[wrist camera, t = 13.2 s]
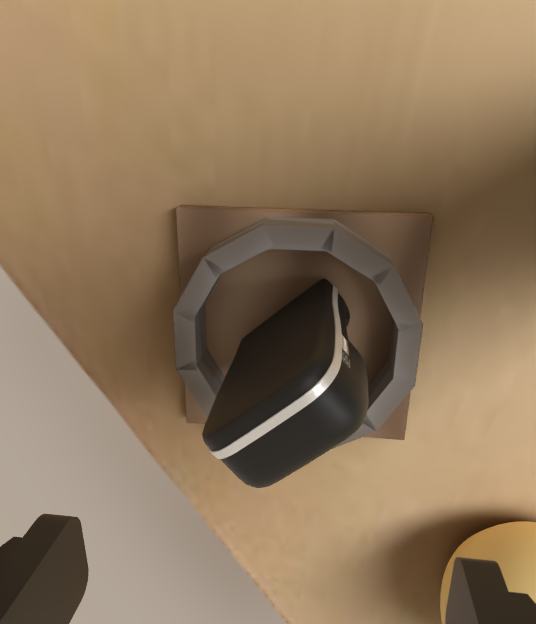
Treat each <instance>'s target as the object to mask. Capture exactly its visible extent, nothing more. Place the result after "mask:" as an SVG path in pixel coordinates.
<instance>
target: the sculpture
mask: <svg viewBox="0 0 536 624" xmlns="http://www.w3.org/2000/svg"><path fill="white" fill-rule="evenodd" d="M456 557H462V558H472V559H482V560H492V561H496V562H497V563H498V565H499V567H500V569H501V572H502V575H503V577H504V580H505V583H506V586H507V588H508V591H509V592H516V593H525V594H528V595H529V596H530V597H531V599H532V600H533V601H534V602H535V603H536V522H530V521H518V522H509V523H504V524H500V525H496V526H493V527H490V528H487V529H485V530H482V531H480V532H478V533H476V534H474V535H473V536H471V537H469V538H468V539H467V540H465V541H464V542H463V543H462V544H461V545H460V546H459V547H458V548H457V549H456V551H455V552H454V553H453V555H452V557H451V558H450V560H449V562H448V564H447V567H446V569H445V572H444V576H443V580H442V585H441V593H440V612H441V621H442V624H445V616H446V607H447V601H448V595H449V589H450V583H451V577H452V572H453V566H454V561H455V559H456Z"/></svg>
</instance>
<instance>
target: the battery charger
mask: <svg viewBox="0 0 536 624" xmlns="http://www.w3.org/2000/svg"><path fill="white" fill-rule="evenodd" d="M349 320H350V313H349V309H348V307H347V305H346V303H345V301H344V299H343V298H342V296H341V295H340V294H339V293H338V289H337V288H336V287H335V286H334V284H331V283H330V282H329V281H328V280H327V279H321V280H319V281H318V282H317V283H315V284H314V285H312V286H311V287H310V288H308V289H307V290H306V291H304V292H303V293H302V294H300V295H299V296H298V297H296V298H295V299H294V300H292V301H291V302H290V303H288V304H287V305H286V306H284V307H283V308H282V309H280V310H279V311H278V312H276V313H275V314H274V315H272V316H271V317H270V318H269V319H267V320H266V321H265V322H263V323H262V324H261V325H259V326H258V327H257V328H255V329H254V330H253V331H251V332H250V333H249V334H248V335H246V336H245V337H244V338H243V339H242V340H241V342H240V345H239V347H238V350H237V352H236V355H235V357H234V359H233V362H232V364H231V366H230V368H229V370H228V372H227V374H226V376H225V378H224V380H223V383H222V385H221V387H220V389H219V391H218V394H217V396H216V398H215V401H214V403H213V405H212V408H211V410H210V413H209V415H208V418H207V421H206V423H205V426H204V430H203V433H202V435H203V439H204V442H205V444H206V445H207V446H208V449H209V451H210V452H211V453H212V454H213V455H214V456H215V457H216V458H217V459H221V460H222V461H223V463H224V464H225V465H226V466H227V467H228V468H229V469H230V470H231V471H232V472H233V473H234V474H235V475H236V476H237V477H238V478H239V479H240V480H242V481H243V482H244V483H245V484H247V485H250V486H252V487H256V488H262V487H267V486H270V485H272V484H274V483H276V482H278V481H280V480H281V479H283V478H285V477H286V476H288V475H290V474H291V473H293V472H295V471H296V470H298V469H300V468H301V467H303V466H305V465H306V464H308V463H310V462H311V461H313V460H314V459H316V458H318V457H319V456H321V455H322V454H324V453H325V452H327V451H329V450H330V449H332V448H333V447H335V446H337V445H338V444H340V443H341V442H343V441H344V440H346V439H347V438H349V437H350V436H351V435H352V434H354V433H355V432H356V431H357V430H358V429H359V428H360V426H361V425H362V424H363V422H364V420H365V418H366V415H367V409H368V402H369V399H368V380H367V372H366V367H365V363H364V360H363V358H362V356H361V355H360V353H359V352H358V350H357V349H356V348H355V347H354V345H353V344H352V343H351V342H350V341H349V340H348V334H347V328H346V327H347V326H348V324H349Z"/></svg>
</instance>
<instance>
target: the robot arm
mask: <svg viewBox="0 0 536 624" xmlns="http://www.w3.org/2000/svg"><path fill="white" fill-rule="evenodd" d="M87 581H88V564H87V558H86V551H85V545H84V539H83V533H82V527H81V522H80V520H79V518H77V517H71V516H61V515H51V514H43V515H41V516H40V517H38V519H37V520H36V521H35V522H34V523H33V525H32V526H31V527H30V529H29V530H28V531H27V533H26V534H25V535H24V537H23V538H21V537H13V538H12V539H10V540H9V541H7V542H6V543H5V544H3V545H2V546H1V547H0V624H69V623H70V621H71V619H72V617H73V615H74V613H75V611H76V609H77V607H78V606H79V604H80V602H81V600H82V598H83V595H84V593H85V590H86V585H87ZM445 624H536V603H535V602H534V601H533V600H532V599H531V597H530V596H529V595H528V594H525V593H516V592H509V591H508V588H507V586H506V583H505V580H504V577H503V575H502V572H501V569H500V567H499V565H498V563H497V562H496V561H492V560H482V559H472V558H462V557H456V559H455V561H454V566H453V572H452V577H451V583H450V589H449V595H448V601H447V607H446V616H445Z"/></svg>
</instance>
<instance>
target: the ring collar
mask: <svg viewBox="0 0 536 624" xmlns="http://www.w3.org/2000/svg"><path fill="white" fill-rule="evenodd" d="M176 218H177V239H178V259H179V279H180V299H179V301H178V303H177V305H176V306H175V308H174V310H173V320H174V338H175V356H176V370H177V371H178V373H179V374H180V376H181V377H182V379H183V380H184V382H185V400H186V420H187V423H198V424H205V423H206V421H207V418H208V415H209V413H210V410H211V408H212V405H213V403H214V401H215V398H216V396H217V394H218V391H219V389H220V387H221V385H222V383H223V380H224V378H225V376H226V374H227V372H228V370H229V368H230V366H231V364H232V362H233V359H234V357H235V355H236V352H237V350H238V347H239V345H240V342H241V340H242V339H243V338H244V337H245V336H246V335H248V334H249V333H250V332H251V331H253V330H254V329H255V328H257V327H258V326H259V325H261V324H262V323H263V322H265V321H266V320H267V319H269V318H270V317H271V316H272V315H274V314H275V313H276V312H278V311H279V310H280V309H282V308H283V307H284V306H286V305H287V304H288V303H290V302H291V301H292V300H294V299H295V298H296V297H298V296H299V295H300V294H302V293H303V292H304V291H306V290H307V289H308V288H310V287H311V286H312V285H314V284H315V283H317V282H318V281H319V280H321V279H327V280H328V281H329V282H330V283H331V284H334V286H335V287H336V288H337V289H338V293H339V294H340V295H341V296H342V298H343V299H344V301H345V303H346V305H347V307H348V309H349V313H350V320H349V324H348V326H347V327H346V328H347V334H348V340H349V341H350V342H351V343H352V344H353V345H354V347H355V348H356V349H357V350H358V352H359V353H360V355H361V356H362V358H363V360H364V363H365V367H366V372H367V380H368V399H369V402H368V409H367V415H366V418H365V420H364V422H363V424H362V425H361V426H360V428H359V429H358V430H357V431H356V432H355V433H354V434H352V435H351V436H350V437H349V438H347V439H346V440H344V441H343V442H341V443H340V444H338V445H337V446H335V447H338V446H340V445H343V444H345V443H348V442H351V441H353V440H356V439H358V438H361V437H373V438H386V439H398V440H404V438H405V430H406V422H407V414H408V406H409V399H410V391H411V390H412V389H413V387H414V386H415V381H416V373H417V366H418V358H419V350H420V343H421V335H422V328H423V324H422V322H421V319H420V313H421V305H422V297H423V290H424V282H425V274H426V266H427V258H428V251H429V243H430V235H431V227H432V220H433V216H432V215H430V214H427V213H397V212H368V211H338V210H308V209H278V208H249V207H219V206H189V205H180V206H179V207H177V208H176ZM335 447H333V448H335Z"/></svg>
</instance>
